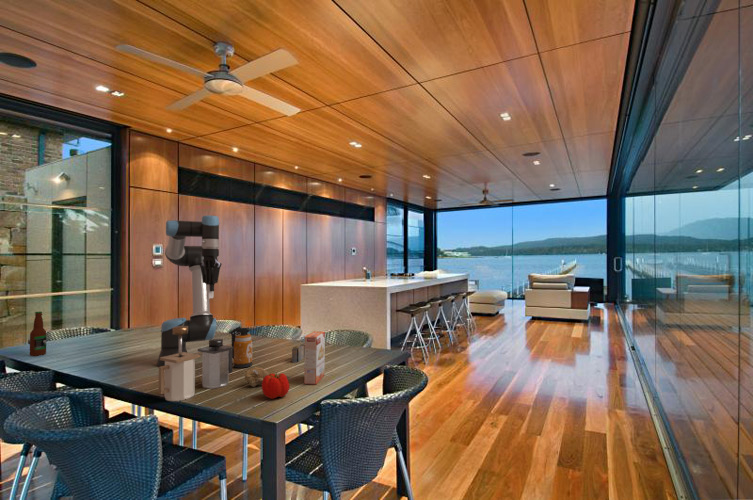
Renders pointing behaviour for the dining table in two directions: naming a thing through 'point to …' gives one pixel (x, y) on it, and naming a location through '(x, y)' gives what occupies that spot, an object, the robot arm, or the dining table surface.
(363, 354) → the dining table surface
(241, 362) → the canister
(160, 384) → the ceramic press carafe
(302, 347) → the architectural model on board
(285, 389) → the tomato
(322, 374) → the cracker box
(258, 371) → the seashell
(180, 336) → the brass press plunger
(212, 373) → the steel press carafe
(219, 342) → the steel plunger
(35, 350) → the bottle
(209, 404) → the dining table surface
